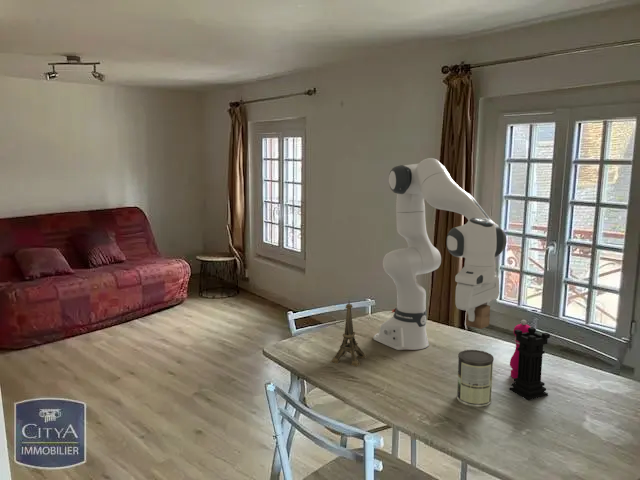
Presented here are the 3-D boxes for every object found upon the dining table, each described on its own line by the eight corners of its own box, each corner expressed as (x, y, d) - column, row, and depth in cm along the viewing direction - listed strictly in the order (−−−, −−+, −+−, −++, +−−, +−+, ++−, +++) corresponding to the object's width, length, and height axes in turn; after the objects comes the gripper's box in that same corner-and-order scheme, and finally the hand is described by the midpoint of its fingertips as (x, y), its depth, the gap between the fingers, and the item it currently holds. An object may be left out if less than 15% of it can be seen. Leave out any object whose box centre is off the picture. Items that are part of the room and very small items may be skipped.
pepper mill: (533, 382, 172) (537, 324, 169) (510, 380, 174) (514, 322, 170) (529, 373, 179) (533, 317, 176) (507, 371, 181) (510, 316, 177)
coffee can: (450, 394, 164) (451, 351, 161) (478, 389, 167) (480, 347, 164) (469, 409, 154) (471, 364, 152) (498, 404, 157) (501, 359, 155)
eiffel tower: (358, 366, 186) (358, 298, 182) (330, 362, 190) (330, 296, 186) (366, 356, 195) (367, 291, 191) (340, 352, 199) (340, 289, 195)
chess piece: (509, 389, 167) (512, 329, 163) (528, 385, 170) (531, 326, 166) (528, 400, 159) (532, 338, 156) (547, 395, 162) (551, 334, 159)
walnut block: (465, 325, 156) (466, 305, 156) (474, 321, 160) (474, 302, 159) (481, 329, 153) (481, 309, 152) (489, 325, 156) (490, 305, 156)
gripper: (486, 266, 163) (484, 309, 166) (452, 277, 149) (450, 323, 151) (505, 269, 159) (503, 313, 161) (472, 280, 145) (470, 328, 147)
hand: (477, 318), depth 156 cm, fingers closed on walnut block, 5 cm apart
